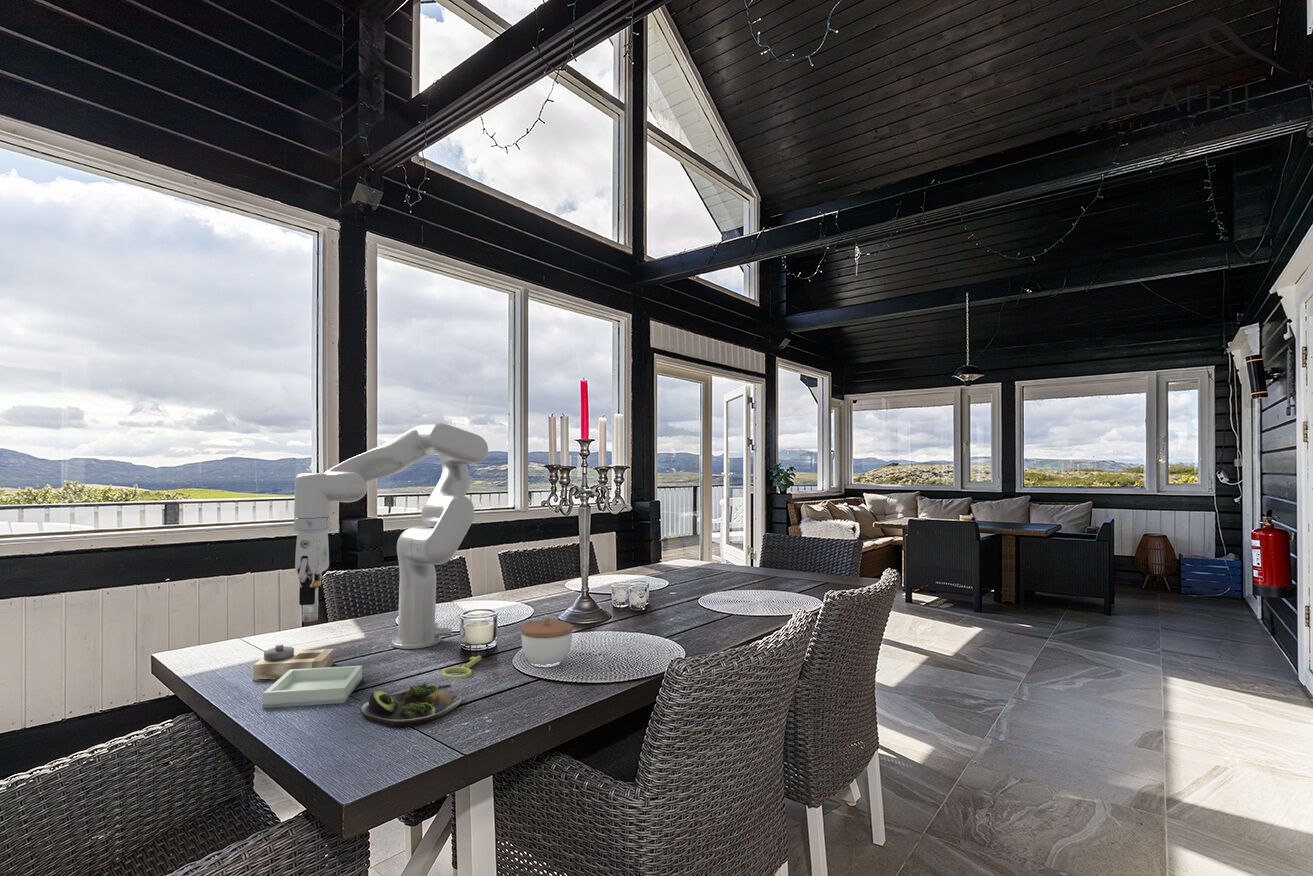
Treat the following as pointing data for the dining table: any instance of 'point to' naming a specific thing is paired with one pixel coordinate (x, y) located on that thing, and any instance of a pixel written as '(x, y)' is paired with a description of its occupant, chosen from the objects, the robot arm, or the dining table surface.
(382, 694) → the salad plate
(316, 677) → the tray
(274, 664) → the wooden holder
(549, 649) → the lidded bowl
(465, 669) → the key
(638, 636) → the dining table surface
